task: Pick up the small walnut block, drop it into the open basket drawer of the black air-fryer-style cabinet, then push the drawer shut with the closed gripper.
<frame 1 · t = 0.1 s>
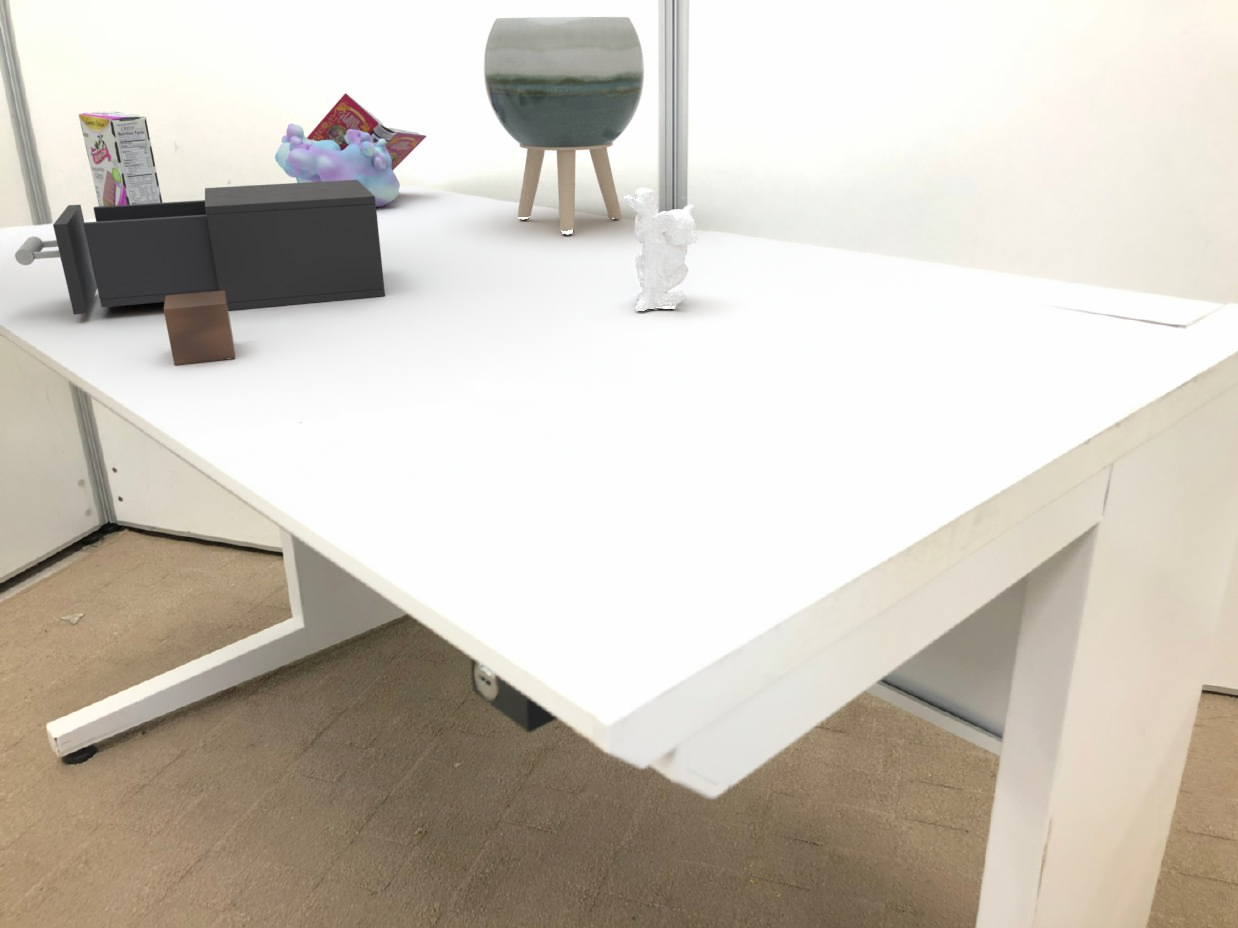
block: (205, 354, 89), on the table
planter: (568, 226, 147), on the table
candy bar box: (136, 238, 141), on the table
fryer: (300, 289, 112), on the table
drawer: (130, 253, 104), point 5 cm above the table, slide at 12.5 cm
pastel bubbly blob: (352, 204, 166), on the table
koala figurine: (658, 307, 104), on the table
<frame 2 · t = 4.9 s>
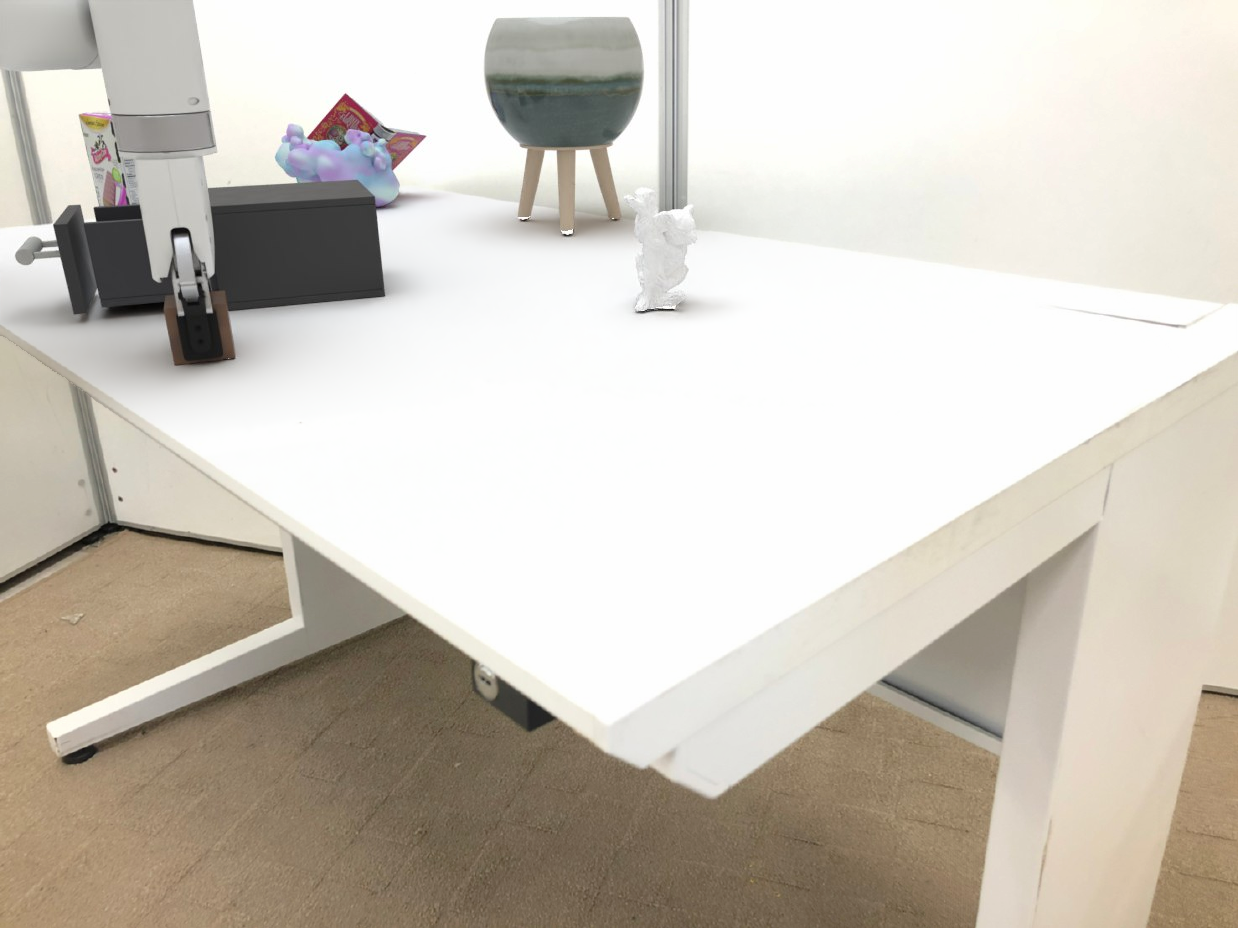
hand: (203, 347, 89), 1 cm above the table, tool pointing down, fingers closed on block, 5 cm apart
block: (205, 354, 89), on the table, touching gripper
everything else where it was.
when the fingers open (11 cm above the table, at t = 12.2 s): block drops 8 cm, resting on drawer.
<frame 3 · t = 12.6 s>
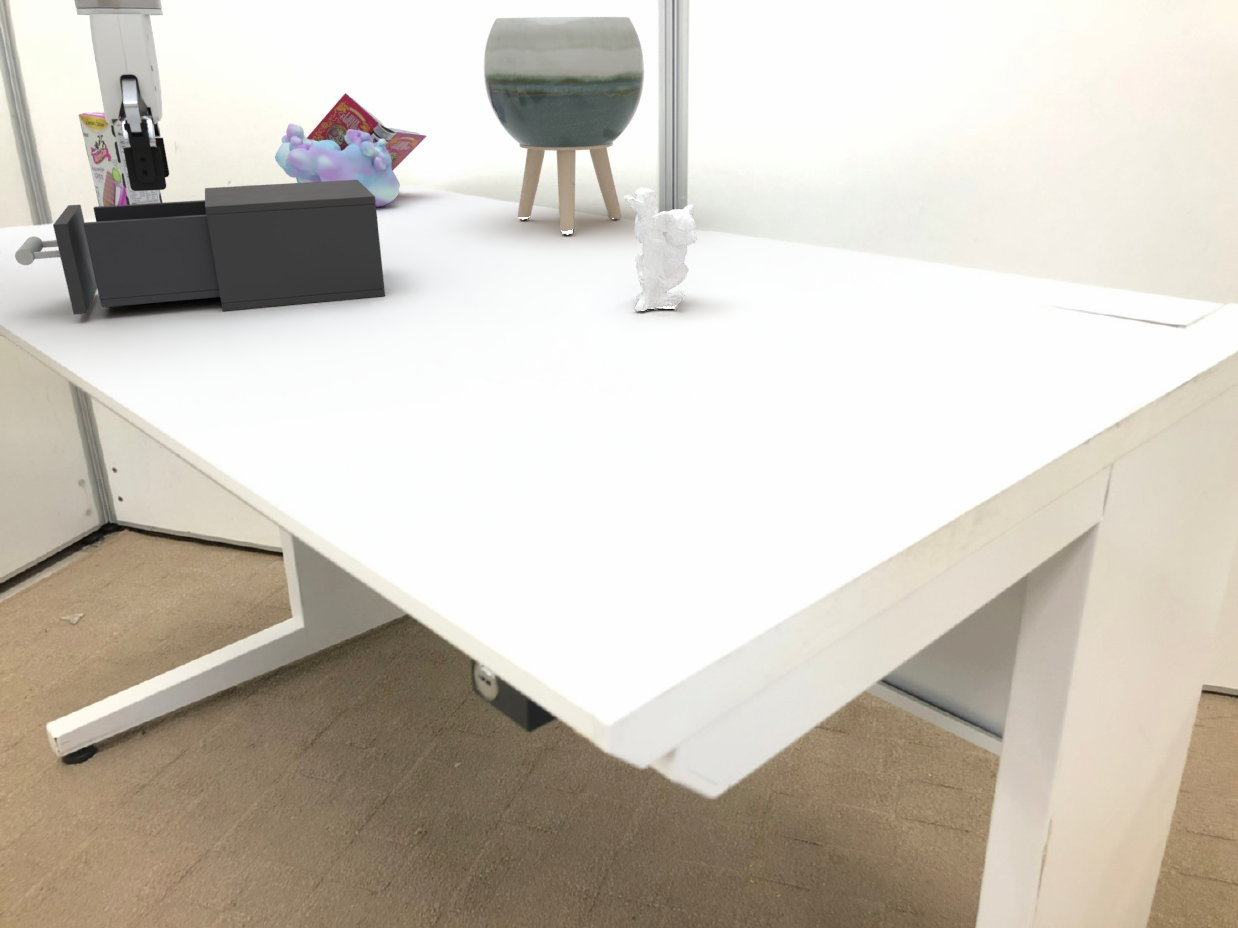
hand: (151, 183, 102), 12 cm above the table, tool pointing down, fingers open, 9 cm apart
block: (171, 282, 107), point 2 cm above the table, touching drawer
drawer: (130, 253, 104), point 5 cm above the table, slide at 12.5 cm, touching block
everything else where it was.
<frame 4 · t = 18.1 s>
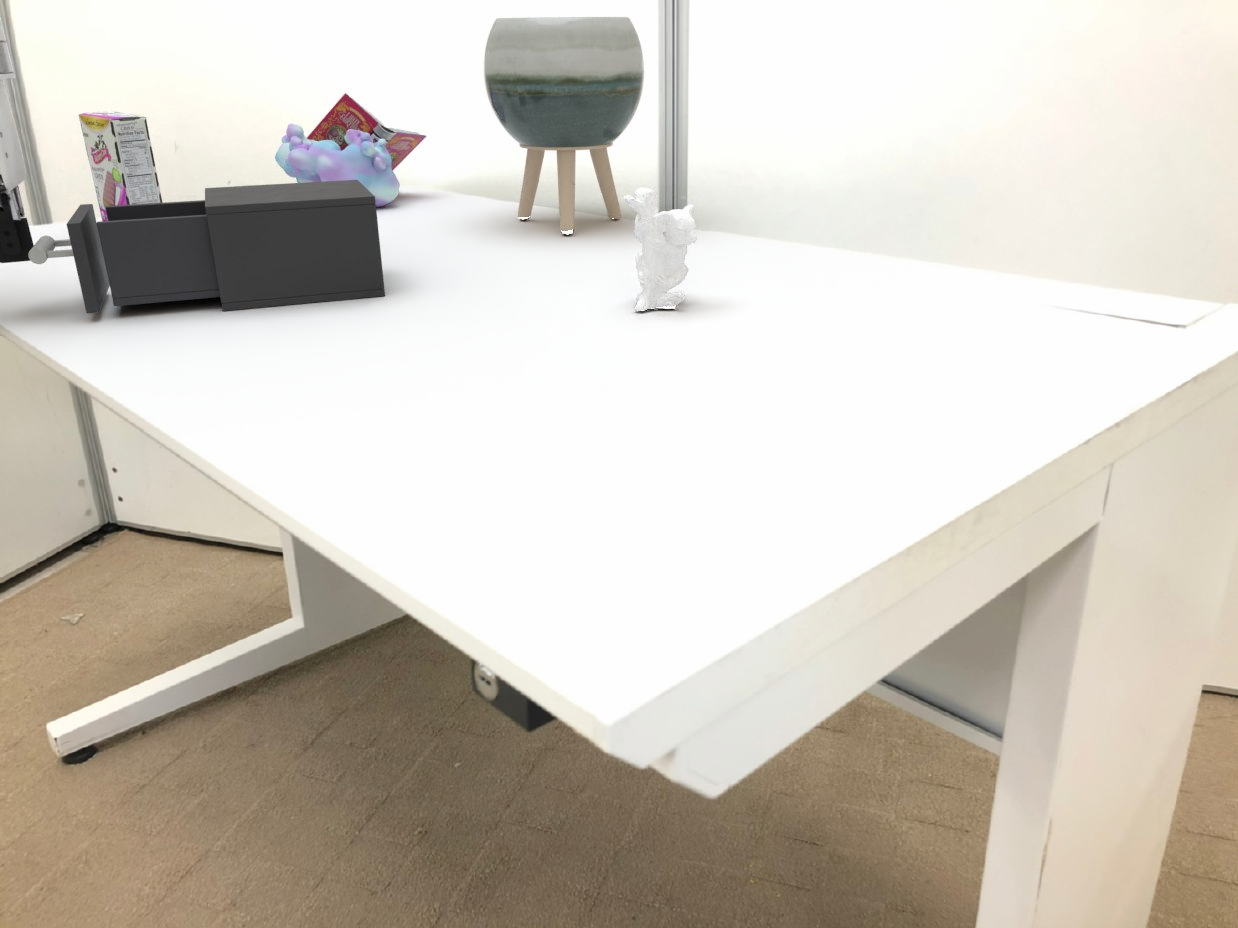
hand: (17, 260, 101), 6 cm above the table, tool pointing down, fingers closed
block: (183, 281, 107), point 2 cm above the table, touching drawer
drawer: (142, 252, 104), point 5 cm above the table, slide at 11.3 cm, touching block, gripper
everything else where it was.
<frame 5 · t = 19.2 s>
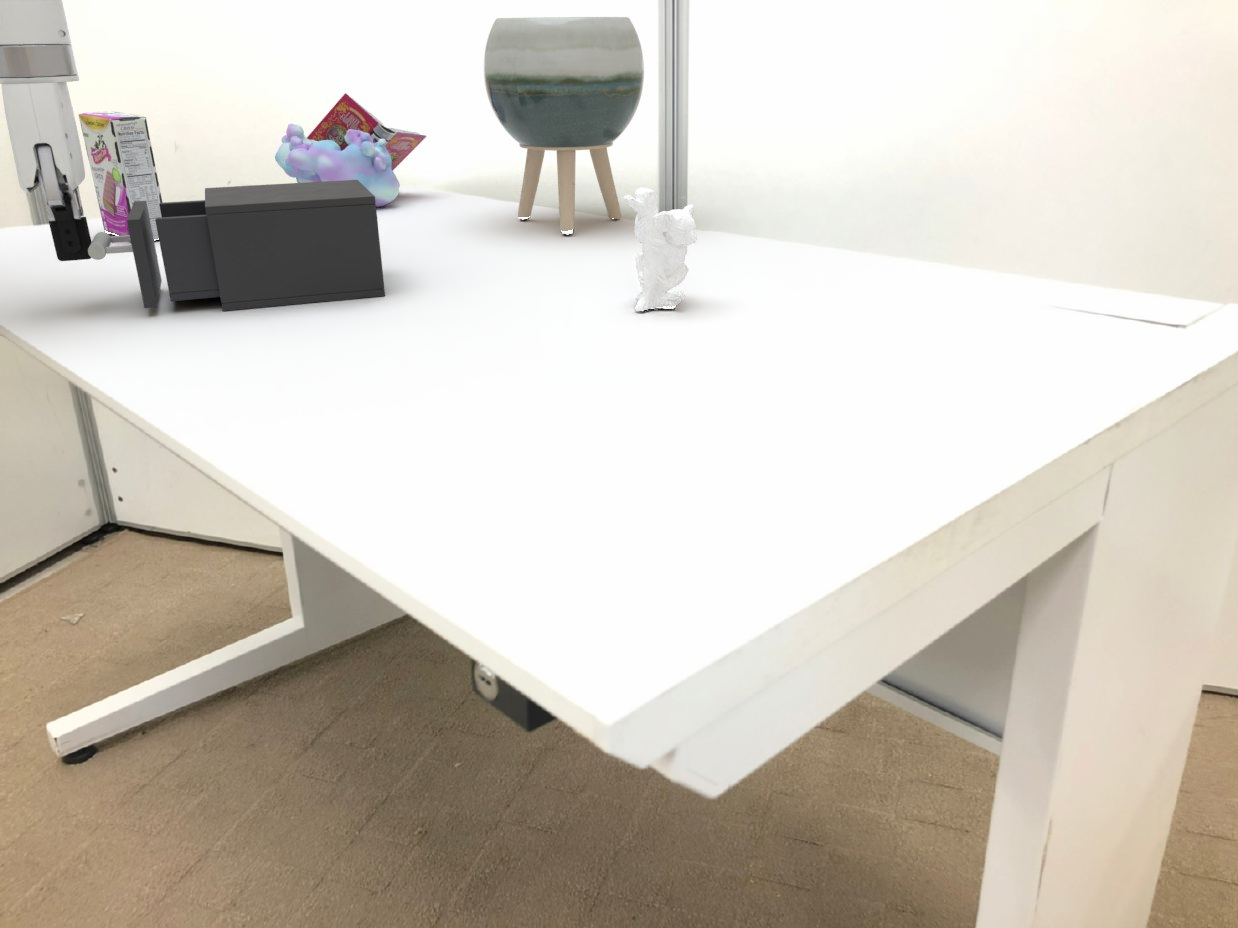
hand: (76, 258, 102), 5 cm above the table, tool pointing down, fingers closed
block: (235, 276, 109), point 2 cm above the table, touching drawer
drawer: (196, 248, 106), point 5 cm above the table, slide at 6.1 cm, touching block, gripper
everything else where it was.
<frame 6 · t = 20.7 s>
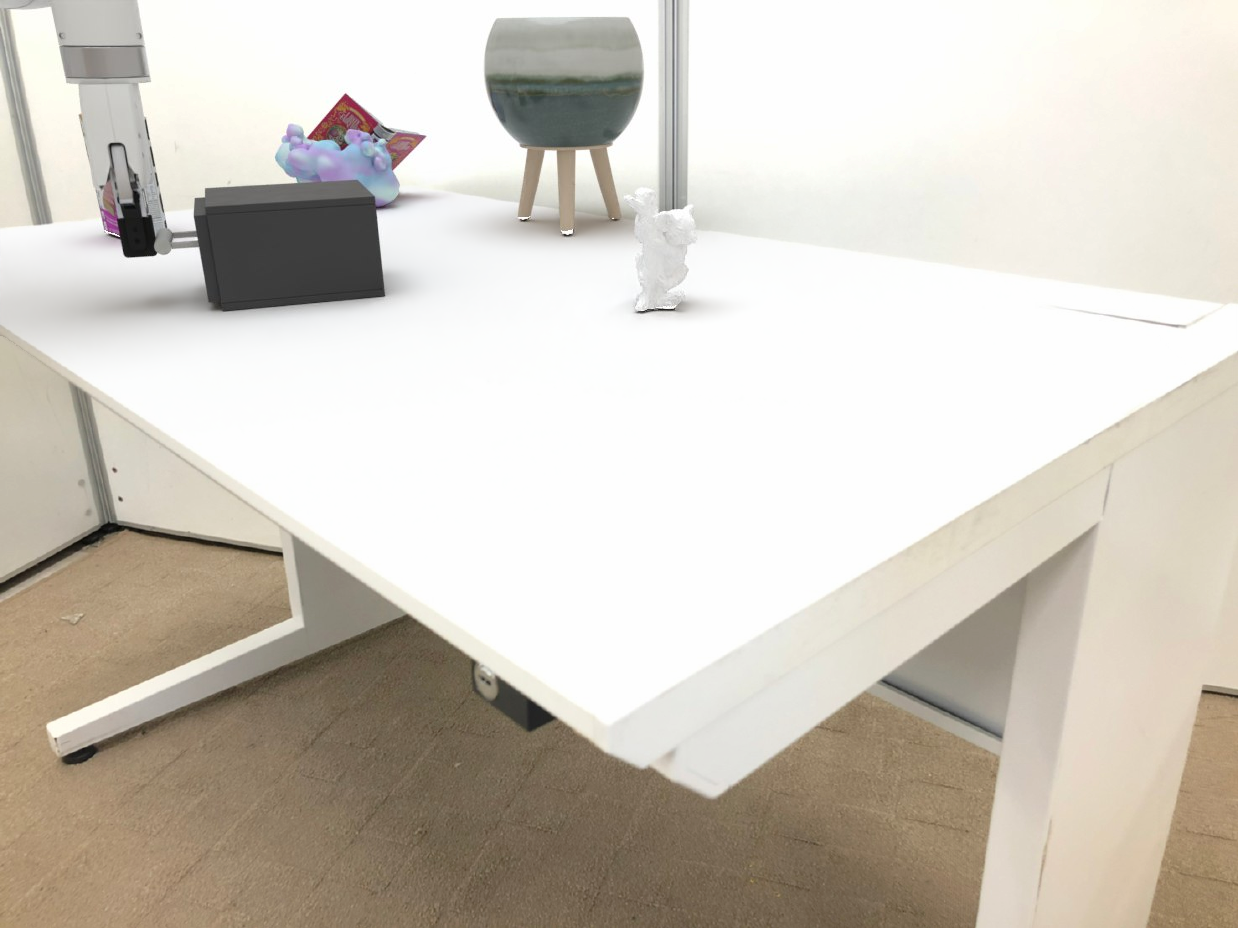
hand: (141, 255, 105), 5 cm above the table, tool pointing down, fingers closed
block: (293, 271, 111), point 2 cm above the table, touching drawer
drawer: (256, 244, 108), point 5 cm above the table, slide at 0.0 cm, touching block, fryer, gripper
everything else where it was.
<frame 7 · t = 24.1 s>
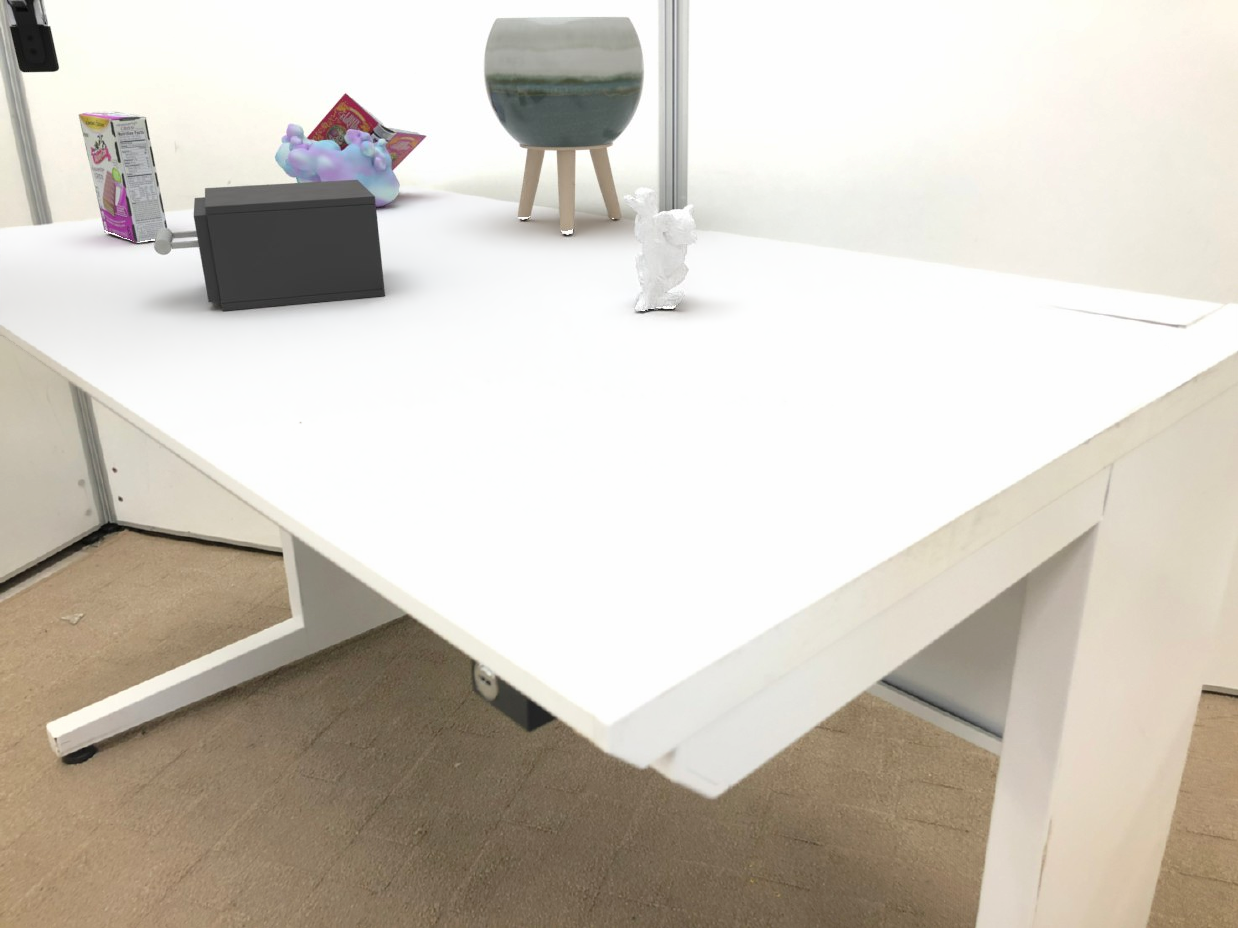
hand: (40, 71, 96), 23 cm above the table, tool pointing down, fingers closed
drawer: (256, 244, 108), point 5 cm above the table, slide at 0.0 cm, touching block, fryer
everything else where it was.
at the end: block inside the target area in the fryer (0.5 cm from its centre), point 2.0 cm above the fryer's base; drawer slide at 0.0 cm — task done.
